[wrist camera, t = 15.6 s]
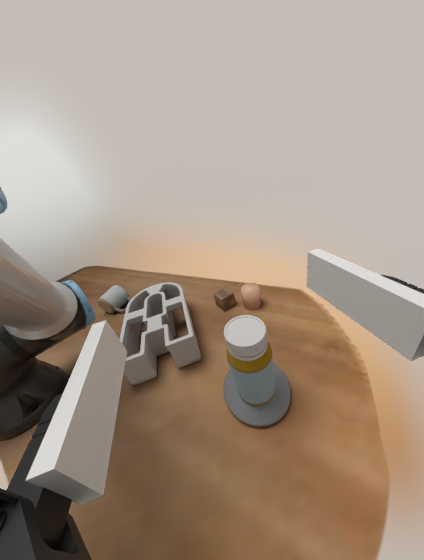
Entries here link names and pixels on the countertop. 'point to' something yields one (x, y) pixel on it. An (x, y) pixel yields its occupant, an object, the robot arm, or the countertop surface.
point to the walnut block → (224, 299)
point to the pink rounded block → (251, 296)
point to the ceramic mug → (114, 299)
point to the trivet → (259, 413)
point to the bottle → (250, 359)
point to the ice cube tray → (156, 332)
